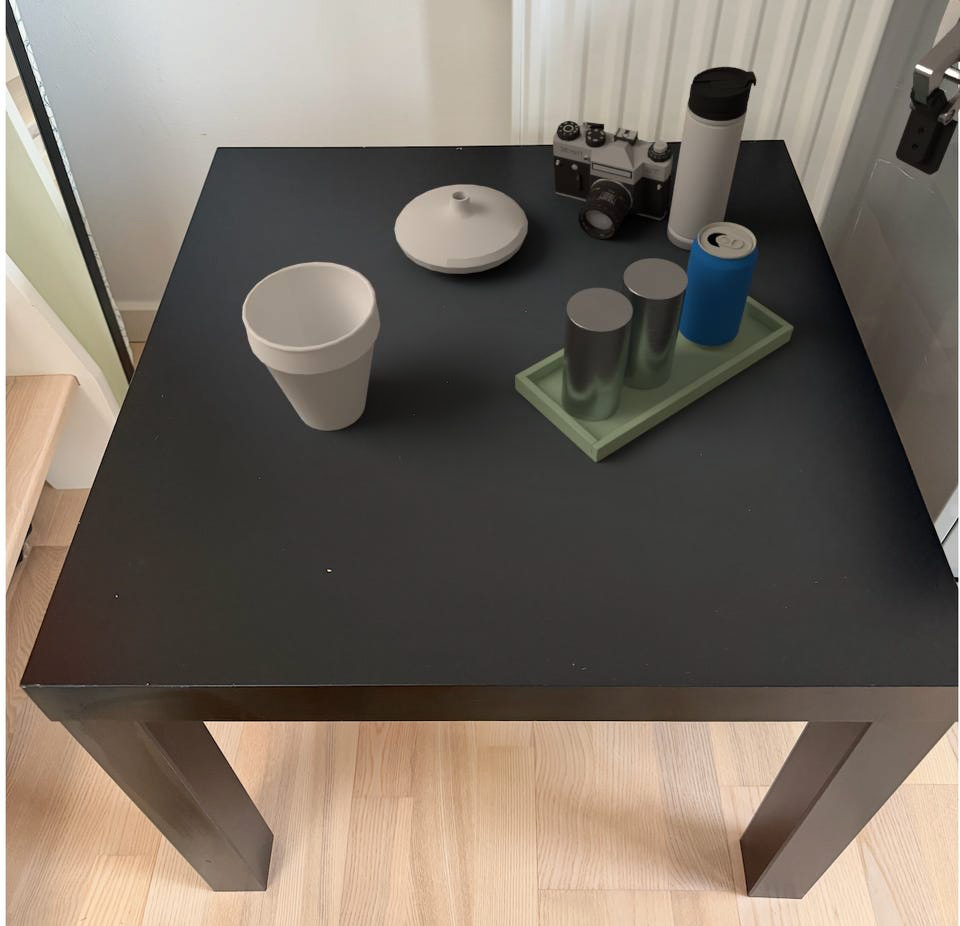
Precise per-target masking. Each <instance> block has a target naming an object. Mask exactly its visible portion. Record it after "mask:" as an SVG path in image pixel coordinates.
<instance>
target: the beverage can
mask: <svg viewBox="0 0 960 926" xmlns="http://www.w3.org/2000/svg"><path fill="white" fill-rule="evenodd" d="M758 258H759V250H758V246H757V239H756V235H754V233H753V231H751V230H750V229H748V228H747V227H745V226H743V225H740V224H738V223H735V222H729V221H723V222H718V223H712V224H709V225H707V226H705V227H704V228H702V229H701V230H700V232H699V234H698V236H697V237H696V238H695V240H694V241H693V243H692V246H691V251H690V253H689V257H688V263H687V267H686V272H685V273H686V275H687V277H688V285H687V290H686V295H685V301H684V306H683V311H682V316H681V322H680V327H679V331H680V333H681V334H682V335H683V336H684V337H685V338H686V339H688V340H689V341H691V342H693V343H695V344H697V345H700V346H704V347H715V346H721V345H725V344H727V343H729V342H731V341H732V340H733V339H734V338H735V337H736V336H737V334H738V331H739V327H740V323H741V319H742V316H743V312H744V308H745V304H746V300H747V296H749V293H750V289H751V284H752V281H753V276H754V273H755V269H756V265H757V261H758Z"/></svg>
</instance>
